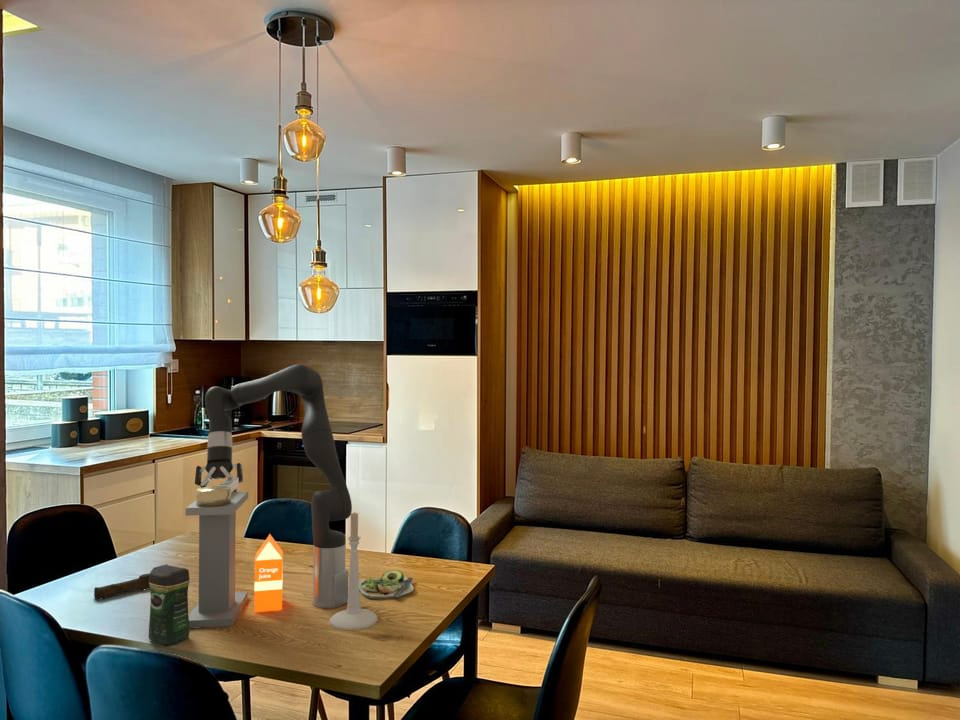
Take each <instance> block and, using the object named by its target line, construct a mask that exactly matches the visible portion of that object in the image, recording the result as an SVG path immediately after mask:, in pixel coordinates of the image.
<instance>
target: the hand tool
mask: <svg viewBox="0 0 960 720" xmlns="http://www.w3.org/2000/svg"><path fill="white" fill-rule="evenodd" d="M149 577H150V572H149V573H144V574H141V575H139V577H138V578H134V579H130V580H126V581H121V582H117V583H111V584H108V585H107V584H106V585H103V586H100V587H96V586H95V587H94V590H93V596H94V599H95V601H100V600H104V599H106V598H108V597H109V598H110V597H113V596H117V595H120V594H124V593H130V592H132V591H137V590H140V589H141V590H140V591H145V590H148V589H147V588H149V589H150V587H149ZM144 589H145V590H144Z"/></svg>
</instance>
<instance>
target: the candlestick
mask: <svg viewBox="0 0 960 720" xmlns="http://www.w3.org/2000/svg"><path fill="white" fill-rule="evenodd" d="M347 539H348V540H349V543H348V545H349V546H350V549H351V550H350V551H349V553H350V555H349V556H350V557H349V569H348V602H346V603H347V604H346V606H347V607H346V609H343V610H341V611H338V612H336V613H335V614H334V615H332V616H331V617H330V619H329V625H330V626H331V627H333V628H334V629H337V630H341V631H342V630H344V631H353V630H354V631H358V630H363V629H366V628H369V627H373V626H374V625H375V624H376V623H377V622H378V615H376V613H374V611H372V610H369V609H366V608H361V598H360V597H361V595H360V593H361V592H360V590H359V582H360V576H359V575H360V573H359V550H358V546H359V544H360V540H361V536H359V513H358V512H355V511H354V512H351V515H350V536H349V537H347Z"/></svg>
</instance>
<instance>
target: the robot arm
mask: <svg viewBox="0 0 960 720" xmlns="http://www.w3.org/2000/svg"><path fill="white" fill-rule="evenodd" d="M323 385H324V384H323V380H322V377H321V375H320V373H319V372H318V371H316V370H315V369H314V368H311V367H309V366H308V365H304V364H301V363H297V364H294V365H293V364H292V365H290V366H288V367H285V368H283V369H281V370H279V371H277V372H274V373H271V374H269V375H267V376H264V377H260V378H257V379H253V380H250V381H245V382H241V383H238V384H235V385H234V386H232V388H231V389H227V388H224V387H221V386H219V385H218V386H212V387H210V388H208V390H207V391H206V393H205V397H204V404H205V405H204V406H205V410H206V413H207V418H208V422H209V424H208V426H209V427H208V438H207V445H206V446H207V447H206V448H207V453H206V455H207V456H206V466H200V465H197V466H196V469H195V479H194V484H195V485H197V486H199V487H200V488H203V487H208V485H209V483H210V482H212V480H213V479H214V480H218V479H219V480H220V479H222V480H223V479H225V480H226V479H228V478H234V476H233V475H232V474H231V472H232V471H233V470H235V471H236V478H237V477H239V484H240V483H243V482H244V479H243V478H244V477H243V475H244V474H243V465H242V464H241V463H240V462H238V463H236V464H233V434H232V432H233V428H232V427H233V421H232V420H233V419H232V417H231V416H230V415H228V414H227V413H226V411H232V410H235V409H238V408H240V407H242V406H243V405H246V404H253V403H255V402H259V401H263V400H265V399H266V398H267V397H269V396H270V395H271V394H274V393H277V392H284V391H291V392H292V393H295V394H297V395H299V396H300V398H301V401H302V403H303V408H304V409H303V410H304V420H303V423H302V427H301V438H302V444H303V448H304V452H305V455H306V457H307V458H308V459H309V461H310V462H311V463H312V465H314V466H315V467H316V468H317V469H318V471H320V472H321V473H322V474H323V476H324V477H325V478H326V479H325V480H327V483H328V485H329V488H330V489H325V490H318V491H316V492H314V493H313V495H312V499H311V503H310V504H311V528H312V530H311V531H312V539H313V553H312V554H313V555H312V556H313V559H312V560H313V563H312V565H313V566H312V571H313V572H312V573H313V576H312V585H313V586H312V587H313V588H312V589H313V590H312V593H313V594H312V599H313V600H312V604H313V605H314V606H315V607H317V608H323V609H325V608H326V609H330V608H331V609H332V608H333V609H336V608H338V607H340V606H342V605H345V604H346V603H348V586H349V569H346V534H345V533H344V532H342V531H339V530H333V529H331V528H330V525H329V524H330V523H329V522H336V521H342V520H347V519H348V518H351V513H353V512H352V510H353V506H352V499H351V495H350V492H349V488H348V485H347V482H346V480H345V476H344V473H343V470H342V467H341V465H340V461H339V457H338V452H337V449H336V442H335V439H334V435H333V430H332V428H331V423H330V419H329V415H328V411H327V408H326V401H325V394H324V386H323ZM205 471H206V472H207V474H206V475H205V476H204V478H203V480H202V476H203V475H202V474H203V473H204V472H205ZM237 489H238V487H237V488H236V489H235V490H234V491H233V492H238V490H237Z"/></svg>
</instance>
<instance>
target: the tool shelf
mask: <svg viewBox="0 0 960 720" xmlns="http://www.w3.org/2000/svg"><path fill="white" fill-rule="evenodd" d="M248 499H249V491H237V492H232V493H231V503H230V504H228V505H225V506H218V507H199V506H196V500H194V501H193V502H192V503H190V504H189V505H188V506H186V507H185V517H186V516H199V517H198V520H199V521H198V522H199V523H198V524H199V525H198V529H199V530H198V603H197V604H196V606H195V607H194V608H193V609H192V610H191V612H190V613H189V614H188V616H189V629H197V628H196V627H203V628H219V626H220V627H221V628H222V627H223V626H225V627H232V626H233V624H234V623H235V621H236V619H237V617H238V616H239V614H240V612H241V611H240V610H242V609H243V608H244V607H243V606H244V605H245V604H244V603H246V602H247V600H248V598H249V597H248V596H249V595H248V591H236V523H237V522H236V520H237V519H236V515H237V514H236V511H237V510H239V508H240V507H241V506H243V505H244V503H245V502H247V500H248ZM245 601H246V602H245Z"/></svg>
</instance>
